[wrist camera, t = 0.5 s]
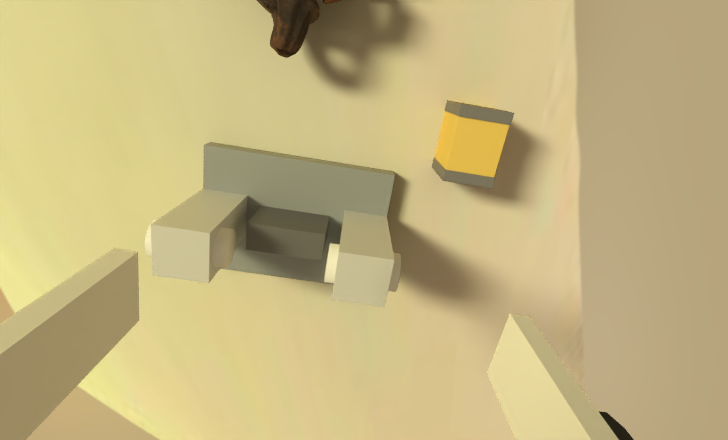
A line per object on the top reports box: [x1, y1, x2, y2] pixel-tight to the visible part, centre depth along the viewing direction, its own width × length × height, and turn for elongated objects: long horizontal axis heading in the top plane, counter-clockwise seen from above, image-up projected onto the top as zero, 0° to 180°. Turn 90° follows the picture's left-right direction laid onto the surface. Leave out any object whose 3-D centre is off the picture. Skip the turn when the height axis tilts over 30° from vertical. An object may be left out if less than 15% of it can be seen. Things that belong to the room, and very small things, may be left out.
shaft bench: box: [145, 142, 401, 307], centre depth 32 cm, size 12×18×10 cm, turn 81°
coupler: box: [432, 100, 514, 188], centre depth 31 cm, size 4×6×5 cm
